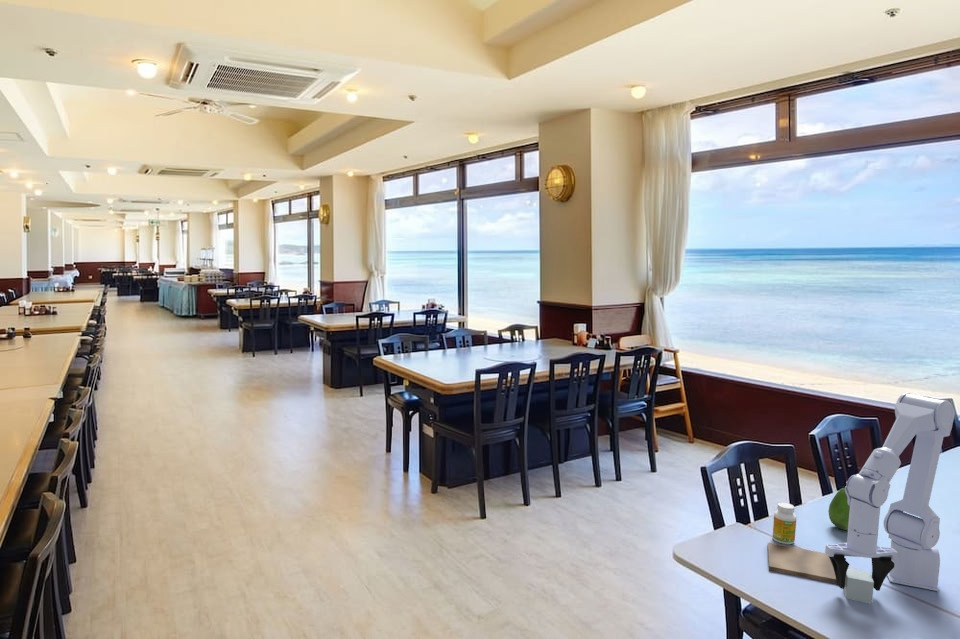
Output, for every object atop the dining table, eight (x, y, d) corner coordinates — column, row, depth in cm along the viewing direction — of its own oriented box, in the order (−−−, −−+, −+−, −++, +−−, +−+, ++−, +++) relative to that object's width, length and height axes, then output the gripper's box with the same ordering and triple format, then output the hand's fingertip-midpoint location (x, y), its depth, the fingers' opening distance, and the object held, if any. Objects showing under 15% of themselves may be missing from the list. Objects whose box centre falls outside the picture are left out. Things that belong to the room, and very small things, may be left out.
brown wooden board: (837, 559, 159) (837, 555, 159) (844, 585, 146) (844, 581, 146) (767, 546, 165) (767, 542, 165) (768, 570, 152) (769, 566, 152)
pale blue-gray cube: (868, 593, 143) (869, 572, 142) (871, 604, 138) (873, 582, 138) (842, 588, 145) (844, 567, 144) (845, 598, 140) (847, 577, 140)
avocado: (851, 537, 172) (855, 494, 171) (822, 527, 178) (825, 486, 177) (864, 530, 176) (868, 489, 175) (835, 520, 183) (839, 480, 182)
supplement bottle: (782, 545, 166) (785, 510, 165) (767, 536, 171) (770, 502, 170) (799, 543, 167) (801, 508, 166) (784, 535, 172) (787, 500, 171)
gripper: (886, 523, 143) (881, 580, 145) (820, 520, 144) (816, 576, 146) (905, 537, 136) (899, 596, 138) (836, 533, 137) (831, 592, 139)
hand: (857, 587), depth 141 cm, fingers open, 7 cm apart
